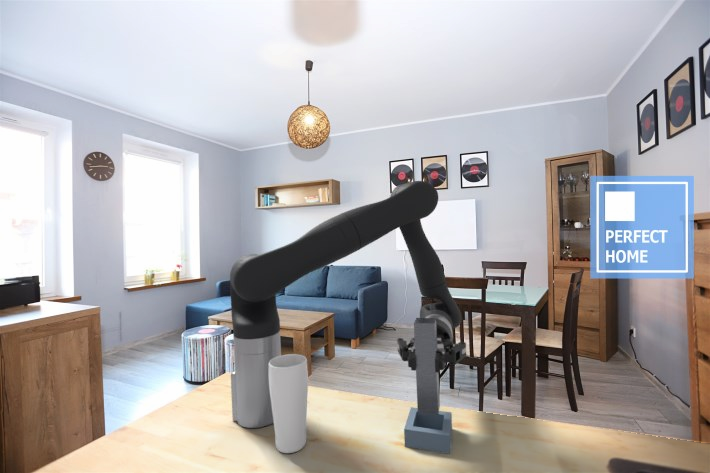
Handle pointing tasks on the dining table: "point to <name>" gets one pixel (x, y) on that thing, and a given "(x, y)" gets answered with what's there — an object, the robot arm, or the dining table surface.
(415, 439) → the socket block
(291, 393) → the drinking glass
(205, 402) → the dining table surface
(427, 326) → the square bit
